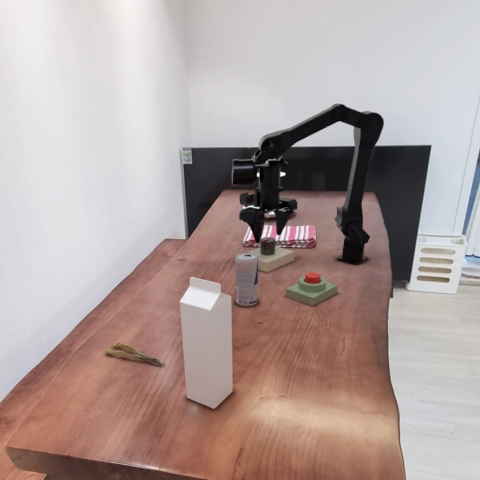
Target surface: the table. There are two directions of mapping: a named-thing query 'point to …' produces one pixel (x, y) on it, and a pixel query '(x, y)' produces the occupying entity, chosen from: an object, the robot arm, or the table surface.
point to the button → (312, 278)
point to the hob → (273, 258)
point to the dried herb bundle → (132, 350)
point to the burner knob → (267, 246)
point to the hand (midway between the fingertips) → (268, 238)
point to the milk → (207, 342)
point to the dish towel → (285, 236)
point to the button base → (311, 291)
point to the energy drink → (246, 279)
